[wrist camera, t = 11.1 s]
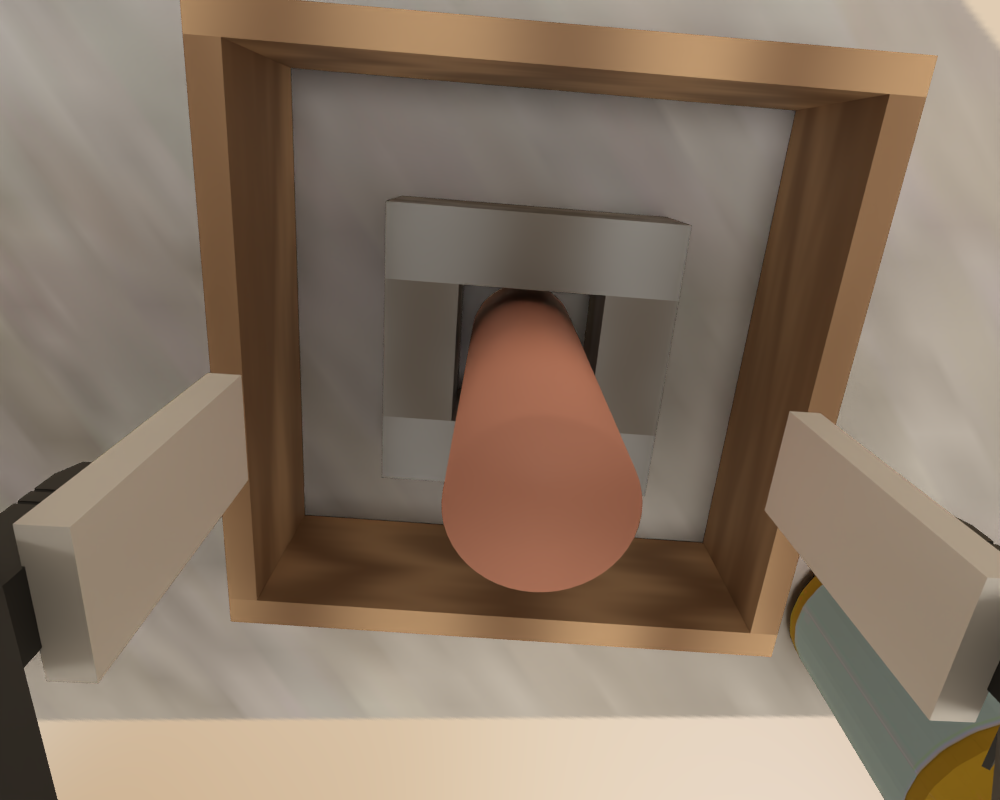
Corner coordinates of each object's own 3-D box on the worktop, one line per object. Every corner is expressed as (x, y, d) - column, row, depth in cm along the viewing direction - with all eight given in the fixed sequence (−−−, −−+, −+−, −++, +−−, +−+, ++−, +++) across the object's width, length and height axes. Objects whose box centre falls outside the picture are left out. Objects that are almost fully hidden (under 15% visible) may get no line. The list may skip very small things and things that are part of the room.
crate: (283, 532, 29) (230, 621, 24) (260, 33, 22) (179, -11, 17) (720, 563, 30) (771, 656, 24) (830, 81, 23) (937, 55, 17)
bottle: (815, 533, 29) (1106, 879, 15) (960, 559, 30) (1374, 920, 16) (763, 654, 32) (972, 1052, 17) (897, 677, 32) (1207, 1083, 18)
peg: (469, 377, 27) (437, 585, 14) (475, 280, 25) (446, 407, 12) (565, 384, 27) (627, 598, 14) (577, 288, 25) (657, 423, 12)
